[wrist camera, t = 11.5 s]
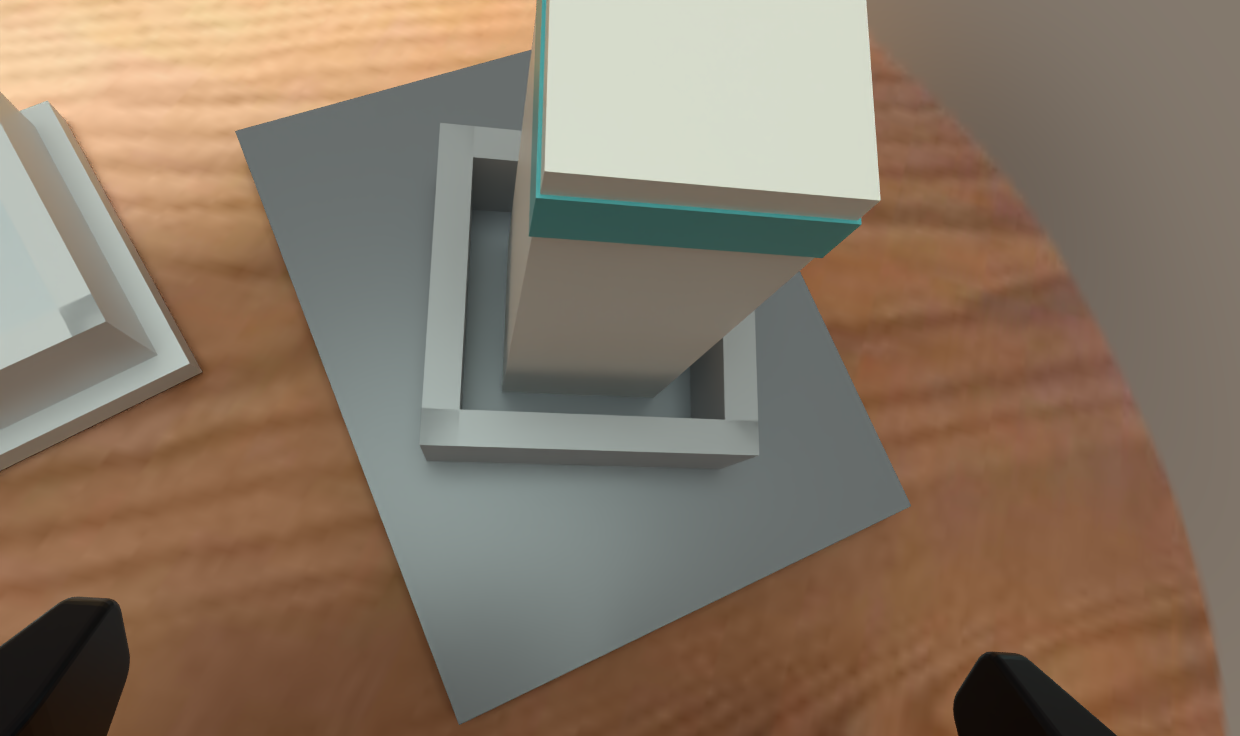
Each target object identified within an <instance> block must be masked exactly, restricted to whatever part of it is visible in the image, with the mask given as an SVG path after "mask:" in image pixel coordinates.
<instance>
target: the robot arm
mask: <svg viewBox="0 0 1240 736" xmlns="http://www.w3.org/2000/svg"><path fill="white" fill-rule="evenodd" d="M129 664H130V654H129V648H128V643H127V638H126V633H125V628H124V623H123V618H122V612H121V609H120V606H119V604H118V603H117V602H116V601H115V600H113V599H108V598H91V597H71V598H68V599H65V600H63V601H61V602H60V603H58V604H57V605H55V606H54V607H53V608H51V609H50V610H49V611H47V612H46V613H45V614H43V615H42V616H41V617H39V618H38V619H37V620H35V621H34V622H33V623H31V624H30V625H28V626H27V627H26V628H24V629H23V630H22V631H20V632H19V633H18V634H16V635H15V636H14V637H12V638H11V639H10V640H8V641H7V642H6V643H4V644H3V645H2V646H0V736H107V734H108V731H109V728H110V725H111V722H112V719H113V716H114V714H115V711H116V708H117V705H118V702H119V699H120V697H121V694H122V691H123V688H124V685H125V682H126V679H127V675H128V671H129ZM953 712H954V720H955V724H956V728H957V732H958V736H1117V735H1116V734H1114V733H1113V732H1112V731H1111V730H1110V729H1109V728H1107V727H1106V726H1105V725H1104V724H1103V723H1102V722H1101V721H1099V720H1098V719H1097V718H1096V717H1095V716H1094V715H1092V714H1091V713H1090V712H1089V711H1088V710H1087V709H1085V708H1084V707H1083V706H1082V705H1081V704H1080V703H1079V702H1077V701H1076V700H1075V699H1074V698H1073V697H1072V696H1070V695H1069V694H1068V693H1067V692H1066V691H1065V690H1063V689H1062V688H1061V687H1060V686H1059V685H1058V684H1056V683H1055V682H1054V681H1053V680H1052V679H1051V678H1050V677H1048V676H1047V675H1046V674H1045V673H1044V672H1043V671H1041V670H1040V669H1039V668H1038V667H1037V666H1036V665H1034V664H1033V663H1032V662H1031V661H1030V660H1028V659H1027V658H1026V657H1024V656H1022V655H1020V654H1016V653H1005V652H986V653H984V654H983V655H981V656H980V657H979V659H978V660H977V662H976V663H975V665H974V666H973V668H972V670H971V671H970V673H969V674H968V676H967V677H966V679H965V681H964V682H963V684H962V685H961V687H960V689H959V690H958V692H957V694H956V696H955V699H954V705H953Z"/></svg>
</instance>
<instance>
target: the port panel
mask: <svg viewBox="0 0 1240 736" xmlns="http://www.w3.org/2000/svg"><path fill="white" fill-rule="evenodd" d="M530 59H531V50H529V51H525V52H522V53H518V54H514V55H511V56H507V57H503V58H500V59H496V60H492V61H489V62H485V63H481V64H478V65H474V66H471V67H467V68H463V69H460V70H456V71H452V72H449V73H445V74H441V75H438V76H434V77H430V78H427V79H423V80H420V81H416V82H412V83H409V84H405V85H401V86H398V87H394V88H390V89H387V90H383V91H380V92H376V93H372V94H369V95H365V96H361V97H358V98H354V99H350V100H347V101H343V102H339V103H336V104H332V105H329V106H325V107H321V108H318V109H314V110H310V111H307V112H303V113H299V114H296V115H292V116H288V117H285V118H281V119H278V120H274V121H270V122H267V123H263V124H259V125H256V126H252V127H248V128H245V129H241V130H238V131H235V132H236V134H237V137H238V140H239V142H240V145H241V148H242V150H243V153H244V156H245V158H246V161H247V164H248V166H249V169H250V172H251V174H252V177H253V180H254V182H255V185H256V187H257V190H258V193H259V195H260V198H261V201H262V203H263V206H264V209H265V211H266V214H267V217H268V219H269V222H270V225H271V227H272V230H273V233H274V235H275V238H276V241H277V243H278V246H279V248H280V251H281V254H282V256H283V259H284V262H285V264H286V267H287V270H288V272H289V275H290V278H291V280H292V283H293V286H294V288H295V291H296V294H297V296H298V299H299V302H300V304H301V307H302V310H303V312H304V315H305V317H306V320H307V323H308V325H309V328H310V331H311V333H312V336H313V339H314V341H315V344H316V347H317V349H318V352H319V355H320V357H321V360H322V363H323V365H324V368H325V371H326V373H327V376H328V378H329V381H330V384H331V386H332V389H333V392H334V394H335V397H336V400H337V402H338V405H339V408H340V410H341V413H342V416H343V418H344V421H345V424H346V426H347V429H348V432H349V434H350V437H351V440H352V442H353V445H354V447H355V450H356V453H357V455H358V458H359V461H360V463H361V466H362V469H363V471H364V474H365V477H366V479H367V482H368V485H369V487H370V490H371V493H372V495H373V498H374V501H375V503H376V506H377V508H378V511H379V514H380V516H381V519H382V522H383V524H384V527H385V530H386V532H387V535H388V538H389V540H390V543H391V546H392V548H393V551H394V554H395V556H396V559H397V562H398V564H399V567H400V570H401V572H402V575H403V577H404V580H405V583H406V585H407V588H408V591H409V593H410V596H411V599H412V601H413V604H414V607H415V609H416V612H417V615H418V617H419V620H420V623H421V625H422V628H423V631H424V633H425V636H426V638H427V641H428V644H429V646H430V649H431V652H432V654H433V657H434V660H435V662H436V665H437V668H438V670H439V673H440V676H441V678H442V681H443V684H444V686H445V689H446V692H447V694H448V697H449V700H450V702H451V705H452V707H453V710H454V713H455V715H456V718H457V721H458V723H459V725H460V724H462V723H464V722H466V721H468V720H470V719H472V718H475V717H477V716H479V715H481V714H483V713H485V712H487V711H489V710H491V709H493V708H495V707H497V706H499V705H501V704H503V703H505V702H508V701H510V700H512V699H514V698H516V697H518V696H520V695H522V694H524V693H526V692H528V691H530V690H532V689H534V688H536V687H539V686H541V685H543V684H545V683H547V682H549V681H551V680H553V679H555V678H557V677H559V676H561V675H563V674H565V673H567V672H569V671H572V670H574V669H576V668H578V667H580V666H582V665H584V664H586V663H588V662H590V661H592V660H594V659H596V658H598V657H600V656H602V655H605V654H607V653H609V652H611V651H613V650H615V649H617V648H619V647H621V646H623V645H625V644H627V643H629V642H631V641H633V640H636V639H638V638H640V637H642V636H644V635H646V634H648V633H650V632H652V631H654V630H656V629H658V628H660V627H662V626H664V625H666V624H669V623H671V622H673V621H675V620H677V619H679V618H681V617H683V616H685V615H687V614H689V613H691V612H693V611H695V610H697V609H700V608H702V607H704V606H706V605H708V604H710V603H712V602H714V601H716V600H718V599H720V598H722V597H724V596H726V595H728V594H730V593H733V592H735V591H737V590H739V589H741V588H743V587H745V586H747V585H749V584H751V583H753V582H755V581H757V580H759V579H761V578H763V577H766V576H768V575H770V574H772V573H774V572H776V571H778V570H780V569H782V568H784V567H786V566H788V565H790V564H792V563H794V562H797V561H799V560H801V559H803V558H805V557H807V556H809V555H811V554H813V553H815V552H817V551H819V550H821V549H823V548H825V547H827V546H830V545H832V544H834V543H836V542H838V541H840V540H842V539H844V538H846V537H848V536H850V535H852V534H854V533H856V532H858V531H861V530H863V529H865V528H867V527H869V526H871V525H873V524H875V523H877V522H879V521H881V520H883V519H885V518H887V517H889V516H891V515H894V514H896V513H898V512H900V511H902V510H904V509H906V508H908V507H910V506H911V505H910V503H909V500H908V498H907V496H906V494H905V492H904V490H903V488H902V486H901V484H900V481H899V479H898V477H897V475H896V473H895V471H894V469H893V467H892V465H891V463H890V460H889V458H888V456H887V454H886V452H885V450H884V448H883V446H882V444H881V441H880V439H879V437H878V435H877V433H876V431H875V429H874V427H873V425H872V423H871V420H870V418H869V416H868V414H867V412H866V410H865V408H864V406H863V404H862V401H861V399H860V397H859V395H858V393H857V391H856V389H855V387H854V385H853V382H852V380H851V378H850V376H849V374H848V372H847V370H846V368H845V366H844V364H843V361H842V359H841V357H840V355H839V353H838V351H837V349H836V347H835V345H834V342H833V340H832V338H831V336H830V334H829V332H828V330H827V328H826V326H825V323H824V321H823V319H822V317H821V315H820V313H819V311H818V309H817V307H816V305H815V302H814V300H813V298H812V296H811V294H810V292H809V290H808V288H807V286H806V283H805V281H804V279H803V277H802V275H801V273H800V271H799V272H798V273H797V274H795V275H794V276H793V277H792V278H791V279H790V280H788V281H787V282H786V283H785V284H784V285H783V286H782V287H780V288H779V289H778V290H777V291H776V292H775V293H774V294H772V295H771V296H770V297H769V298H768V299H767V300H765V301H764V302H763V303H762V304H761V305H760V306H759V307H757V308H756V309H755V310H754V311H753V312H752V313H751V314H749V315H748V316H747V317H746V318H745V319H744V320H742V321H741V322H740V323H739V324H738V325H737V326H736V327H734V328H733V329H732V330H731V331H730V332H729V333H727V334H726V335H725V336H724V337H723V338H722V339H721V340H719V341H718V342H717V343H716V344H715V345H714V346H713V347H711V348H710V349H709V350H708V351H707V352H706V353H704V354H703V355H702V356H701V357H700V358H699V359H698V360H696V361H695V362H694V363H693V364H692V365H691V366H690V367H688V368H687V369H686V370H685V371H684V372H683V373H681V374H680V375H679V376H678V377H677V378H676V379H675V380H673V381H672V382H671V383H670V384H669V385H668V386H667V387H665V388H664V389H663V390H662V391H661V392H660V393H658V394H657V395H656V396H655V397H654V398H647V397H622V396H598V395H573V394H549V393H524V392H502V377H503V352H504V327H505V302H506V277H507V252H508V239H509V231H510V223H511V215H512V207H513V198H514V190H515V182H516V174H517V165H518V157H519V149H520V141H521V133H522V124H523V116H524V108H525V100H526V92H527V83H528V75H529V67H530Z"/></svg>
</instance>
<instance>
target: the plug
mask: <svg viewBox="0 0 1240 736" xmlns="http://www.w3.org/2000/svg"><path fill="white" fill-rule="evenodd" d="M879 201H880V187H879V173H878V159H877V145H876V131H875V117H874V104H873V90H872V76H871V62H870V48H869V34H868V20H867V7H866V0H537V4H536V18H535V26H534V34H533V42H532V50H531V59H530V67H529V75H528V83H527V92H526V100H525V108H524V116H523V124H522V133H521V141H520V149H519V157H518V165H517V174H516V182H515V190H514V198H513V207H512V215H511V223H510V231H509V239H508V252H507V277H506V302H505V327H504V352H503V377H502V392H524V393H549V394H573V395H598V396H622V397H647V398H654V397H655V396H656V395H657V394H658V393H660V392H661V391H662V390H663V389H664V388H665V387H667V386H668V385H669V384H670V383H671V382H672V381H673V380H675V379H676V378H677V377H678V376H679V375H680V374H681V373H683V372H684V371H685V370H686V369H687V368H688V367H690V366H691V365H692V364H693V363H694V362H695V361H696V360H698V359H699V358H700V357H701V356H702V355H703V354H704V353H706V352H707V351H708V350H709V349H710V348H711V347H713V346H714V345H715V344H716V343H717V342H718V341H719V340H721V339H722V338H723V337H724V336H725V335H726V334H727V333H729V332H730V331H731V330H732V329H733V328H734V327H736V326H737V325H738V324H739V323H740V322H741V321H742V320H744V319H745V318H746V317H747V316H748V315H749V314H751V313H752V312H753V311H754V310H755V309H756V308H757V307H759V306H760V305H761V304H762V303H763V302H764V301H765V300H767V299H768V298H769V297H770V296H771V295H772V294H774V293H775V292H776V291H777V290H778V289H779V288H780V287H782V286H783V285H784V284H785V283H786V282H787V281H788V280H790V279H791V278H792V277H793V276H794V275H795V274H797V273H798V272H799V271H800V270H801V269H802V268H803V267H805V266H806V265H807V264H808V263H809V262H810V261H811V260H813V259H814V258H823V257H824V256H825V255H826V254H827V253H829V252H830V251H831V250H832V249H833V248H834V247H836V246H837V245H838V244H839V243H840V242H841V241H843V240H844V239H845V238H846V237H847V236H849V235H850V234H851V233H852V232H853V231H854V230H856V229H857V228H858V227H859V226H860V225H861V217H862V216H863V215H864V214H866V213H867V212H868V211H869V210H870V209H871V208H872V207H874V206H875V205H876V204H877V203H878V202H879Z"/></svg>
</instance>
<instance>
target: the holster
mask: <svg viewBox="0 0 1240 736" xmlns="http://www.w3.org/2000/svg"><path fill="white" fill-rule="evenodd" d="M200 373H202V371H201V369H200V367H199V365H198V363H197V361H196V359H195V358H194V356H193V354H192V352H191V350H190V348H189V347H188V345H187V343H186V341H185V339H184V337H183V336H182V334H181V332H180V330H179V328H178V326H177V324H176V323H175V321H174V319H173V317H172V315H171V313H170V312H169V310H168V308H167V306H166V304H165V302H164V300H163V299H162V297H161V295H160V293H159V291H158V289H157V288H156V286H155V284H154V282H153V280H152V278H151V277H150V275H149V273H148V271H147V269H146V267H145V265H144V264H143V262H142V260H141V258H140V256H139V254H138V253H137V251H136V249H135V247H134V245H133V243H132V241H131V240H130V238H129V236H128V234H127V232H126V230H125V229H124V227H123V225H122V223H121V221H120V219H119V218H118V216H117V214H116V212H115V210H114V208H113V206H112V205H111V203H110V201H109V199H108V197H107V195H106V194H105V192H104V190H103V188H102V186H101V184H100V182H99V181H98V179H97V177H96V175H95V173H94V171H93V170H92V168H91V166H90V164H89V162H88V160H87V159H86V157H85V155H84V153H83V151H82V149H81V147H80V146H79V144H78V142H77V140H76V138H75V136H74V135H73V133H72V131H71V129H70V127H69V125H68V123H67V122H66V120H65V119H64V118H63V117H62V116H61V115H60V114H59V113H58V111H57V110H56V109H55V108H54V107H53V106H52V105H51V104H50V103H49V102H48V101H45V102H43V103H40V104H37V105H35V106H32V107H29V108H27V109H24V110H22V111H19V110H18V109H17V108H16V107H15V106H14V105H13V104H12V103H11V102H10V101H9V100H8V99H7V98H6V97H5V96H4V95H3V94H2V93H1V92H0V471H1V470H3V469H5V468H7V467H9V466H11V465H13V464H15V463H18V462H20V461H22V460H24V459H26V458H28V457H30V456H32V455H34V454H36V453H38V452H40V451H42V450H44V449H46V448H48V447H50V446H52V445H54V444H56V443H58V442H60V441H63V440H65V439H67V438H69V437H71V436H73V435H75V434H77V433H79V432H81V431H83V430H85V429H87V428H89V427H91V426H93V425H95V424H97V423H99V422H101V421H103V420H105V419H108V418H110V417H112V416H114V415H116V414H118V413H120V412H122V411H124V410H126V409H128V408H130V407H132V406H134V405H136V404H138V403H140V402H142V401H144V400H146V399H148V398H150V397H153V396H155V395H157V394H159V393H161V392H163V391H165V390H167V389H169V388H171V387H173V386H175V385H177V384H179V383H181V382H183V381H185V380H187V379H189V378H191V377H193V376H195V375H197V374H200Z"/></svg>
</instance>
